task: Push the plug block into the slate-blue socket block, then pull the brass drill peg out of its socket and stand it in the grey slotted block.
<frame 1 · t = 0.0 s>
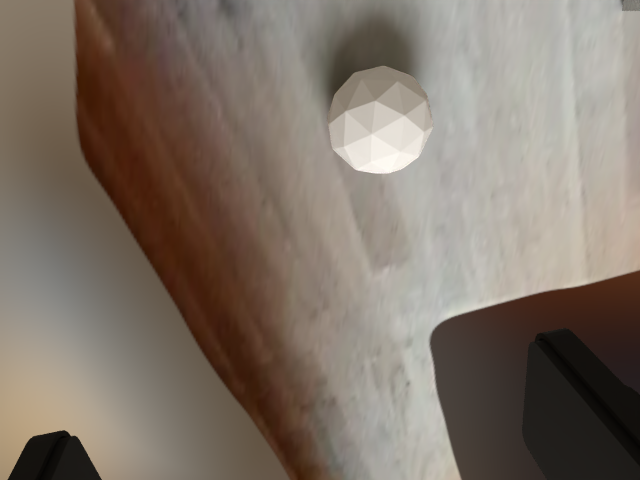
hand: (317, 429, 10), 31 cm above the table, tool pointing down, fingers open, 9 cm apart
ball: (367, 111, 38), on the table
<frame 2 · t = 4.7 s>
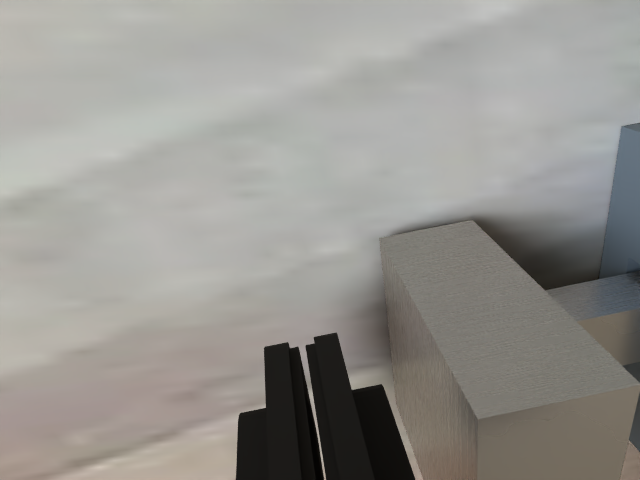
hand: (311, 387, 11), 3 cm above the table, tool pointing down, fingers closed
plug block: (602, 370, 11), point 3 cm above the table, slide at 0.8 cm, touching gripper
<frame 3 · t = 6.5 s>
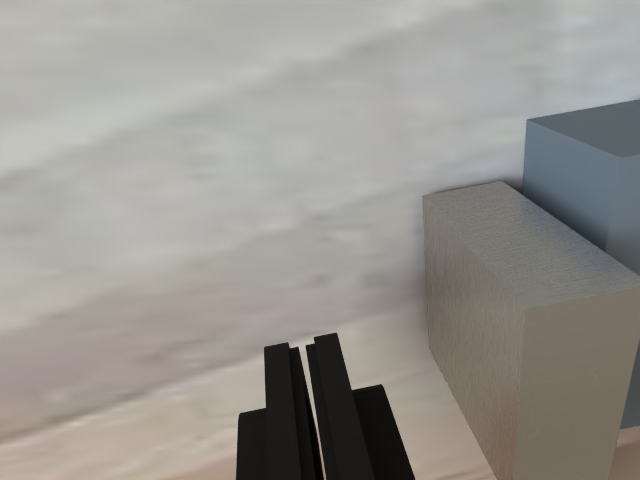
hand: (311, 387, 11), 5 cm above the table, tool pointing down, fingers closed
plug block: (614, 304, 13), point 3 cm above the table, slide at 4.0 cm
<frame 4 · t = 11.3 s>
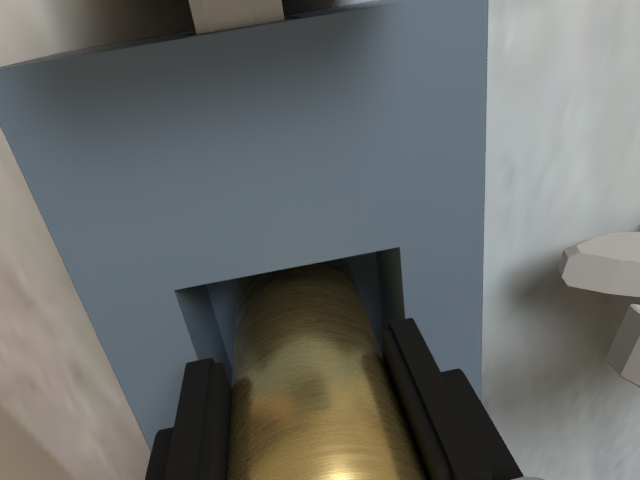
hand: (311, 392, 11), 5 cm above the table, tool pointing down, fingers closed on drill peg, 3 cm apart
drill peg: (296, 291, 14), point 1 cm above the table, touching gripper, socket block
plug block: (250, 79, 9), point 4 cm above the table, slide at 4.0 cm
socket block: (284, 226, 15), on the table
when the fingers open (7 cm above the table, at t = 17.1 s): drill peg drops 1 cm, resting on grey slotted block.
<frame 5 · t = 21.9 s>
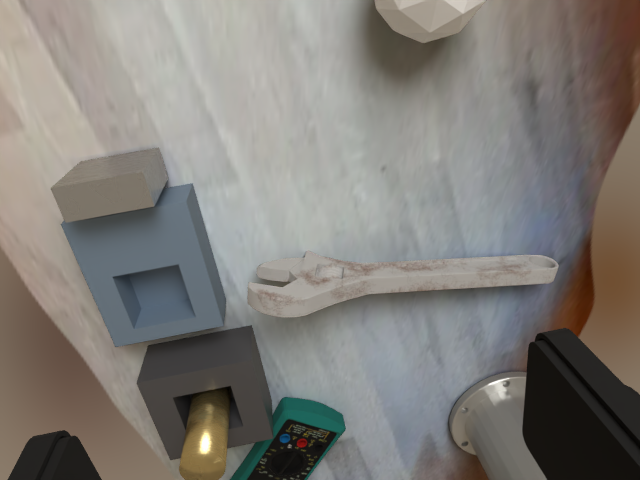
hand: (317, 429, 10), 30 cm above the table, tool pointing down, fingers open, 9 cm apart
wrench: (403, 258, 44), on the table
drill peg: (213, 381, 46), point 1 cm above the table, touching grey slotted block
plug block: (129, 221, 35), point 3 cm above the table, slide at 4.0 cm
digital multimeter: (283, 444, 54), on the table
socket block: (157, 255, 41), on the table
grey slotted block: (213, 374, 47), on the table
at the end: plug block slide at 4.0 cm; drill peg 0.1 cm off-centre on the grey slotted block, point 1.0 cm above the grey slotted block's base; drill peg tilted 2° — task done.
